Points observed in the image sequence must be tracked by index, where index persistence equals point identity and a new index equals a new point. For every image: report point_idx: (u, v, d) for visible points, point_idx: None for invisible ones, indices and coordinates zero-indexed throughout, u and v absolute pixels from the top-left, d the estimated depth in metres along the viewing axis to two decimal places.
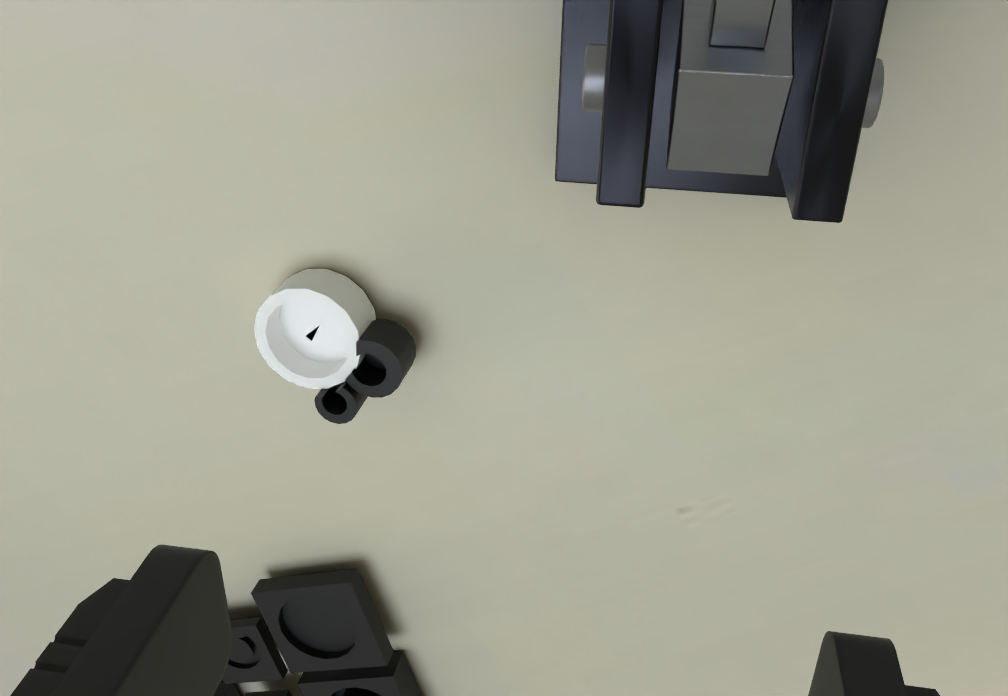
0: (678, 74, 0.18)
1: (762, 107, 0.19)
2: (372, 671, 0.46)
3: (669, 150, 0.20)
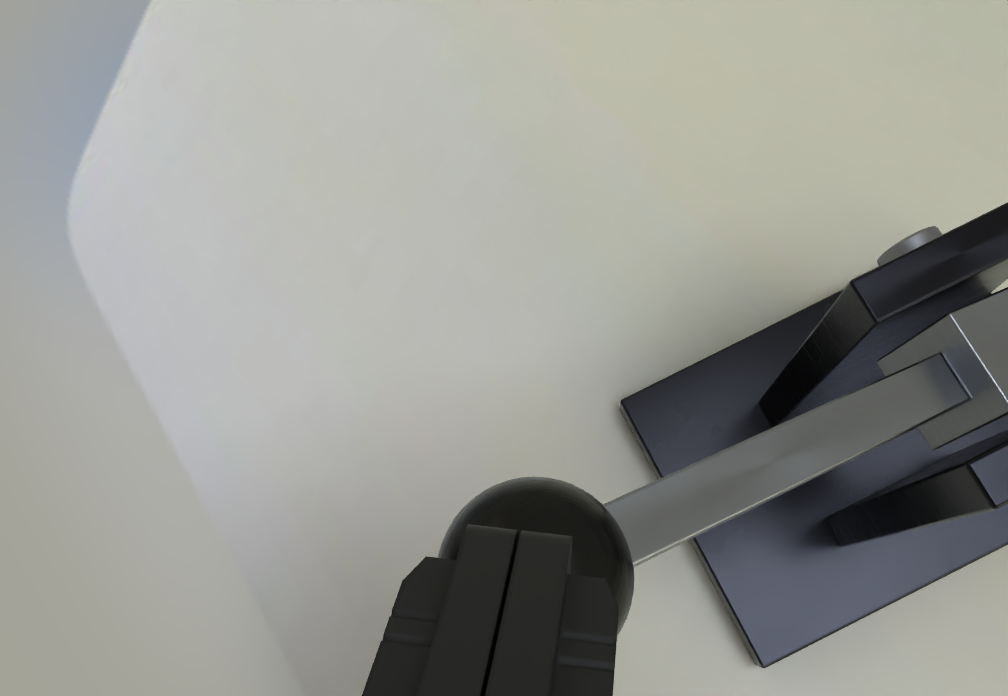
0: None
1: (990, 320, 0.19)
2: None
3: None
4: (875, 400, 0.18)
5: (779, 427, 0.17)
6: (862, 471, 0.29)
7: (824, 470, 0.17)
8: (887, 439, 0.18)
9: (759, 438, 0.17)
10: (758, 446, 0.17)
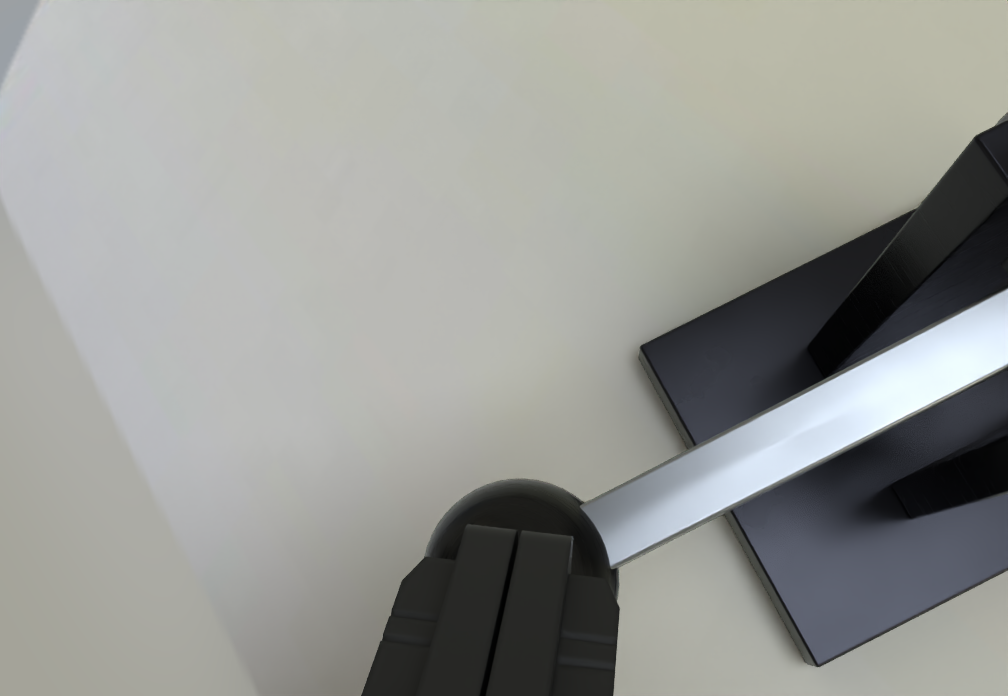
0: None
1: None
2: None
3: None
4: (943, 342, 0.15)
5: (802, 394, 0.15)
6: (934, 428, 0.24)
7: (859, 441, 0.14)
8: (956, 392, 0.14)
9: (774, 411, 0.15)
10: (771, 421, 0.15)
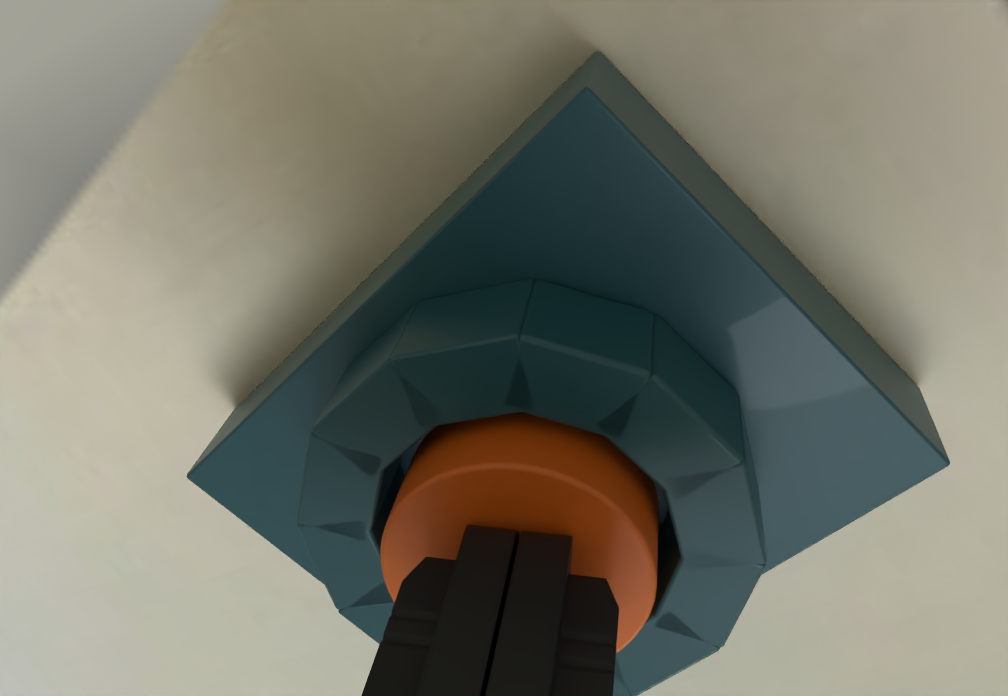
0: None
1: None
2: None
3: None
4: None
5: None
6: None
7: None
8: None
9: None
10: None
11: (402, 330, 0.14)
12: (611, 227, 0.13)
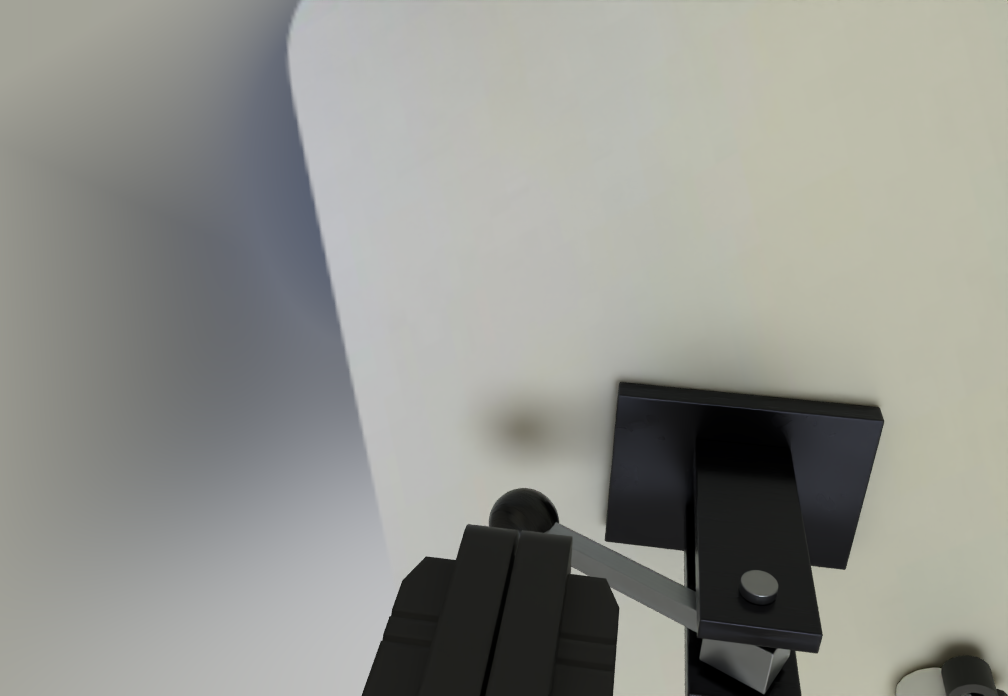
0: (702, 660, 0.38)
1: None
2: None
3: (750, 686, 0.37)
4: (665, 602, 0.39)
5: (619, 572, 0.40)
6: None
7: None
8: None
9: (608, 568, 0.40)
10: (606, 569, 0.40)
11: None
12: None
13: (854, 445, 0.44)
